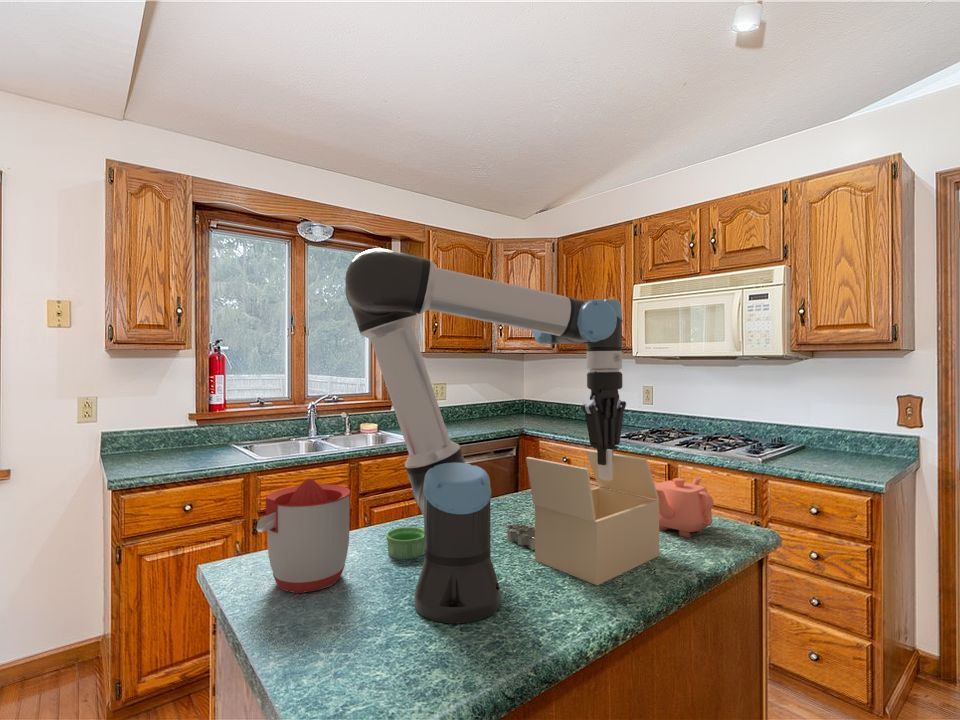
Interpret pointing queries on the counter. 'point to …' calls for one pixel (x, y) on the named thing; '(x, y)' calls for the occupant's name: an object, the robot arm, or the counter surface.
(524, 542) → the egg carton
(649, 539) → the carton
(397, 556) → the ramekin
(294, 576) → the citrus juicer
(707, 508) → the teapot
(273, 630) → the counter surface
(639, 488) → the far flap
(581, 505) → the near flap
